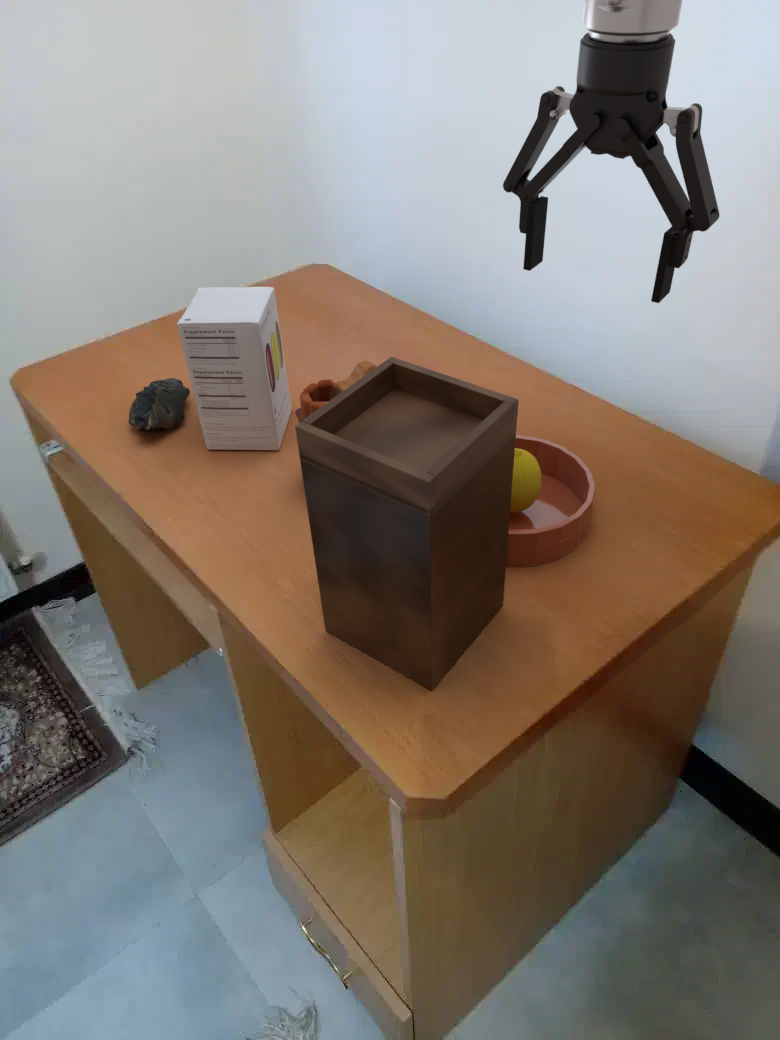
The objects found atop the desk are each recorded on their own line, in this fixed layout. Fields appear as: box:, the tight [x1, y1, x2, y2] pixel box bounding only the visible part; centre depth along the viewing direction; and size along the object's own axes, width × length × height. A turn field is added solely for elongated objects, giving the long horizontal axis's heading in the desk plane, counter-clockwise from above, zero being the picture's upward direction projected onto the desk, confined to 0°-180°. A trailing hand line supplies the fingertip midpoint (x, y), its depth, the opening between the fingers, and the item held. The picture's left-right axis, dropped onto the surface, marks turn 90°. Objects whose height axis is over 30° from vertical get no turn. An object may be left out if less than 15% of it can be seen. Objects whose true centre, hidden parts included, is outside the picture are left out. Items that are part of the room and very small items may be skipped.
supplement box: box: [176, 286, 293, 451], centre depth 93 cm, size 10×9×17 cm
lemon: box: [510, 448, 541, 512], centre depth 82 cm, size 6×6×8 cm
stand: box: [299, 431, 517, 692], centre depth 67 cm, size 12×12×20 cm
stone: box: [128, 377, 191, 431], centre depth 100 cm, size 7×13×5 cm, turn 177°
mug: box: [294, 360, 378, 424], centre depth 87 cm, size 12×7×13 cm, turn 133°
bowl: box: [506, 434, 596, 568], centre depth 83 cm, size 16×16×4 cm
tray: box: [294, 356, 520, 515], centre depth 60 cm, size 12×12×3 cm
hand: (594, 280), depth 78 cm, fingers open, 13 cm apart
